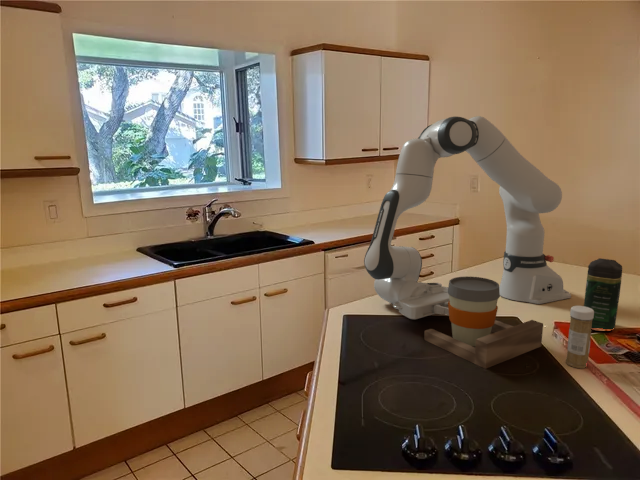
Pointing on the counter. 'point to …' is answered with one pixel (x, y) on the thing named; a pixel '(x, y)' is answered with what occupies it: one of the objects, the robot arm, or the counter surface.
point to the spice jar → (579, 336)
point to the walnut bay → (492, 343)
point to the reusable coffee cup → (472, 307)
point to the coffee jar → (603, 291)
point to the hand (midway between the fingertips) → (453, 311)
